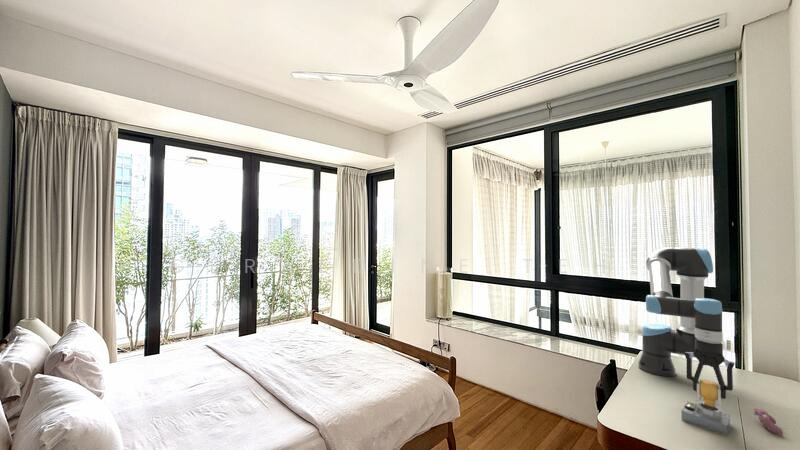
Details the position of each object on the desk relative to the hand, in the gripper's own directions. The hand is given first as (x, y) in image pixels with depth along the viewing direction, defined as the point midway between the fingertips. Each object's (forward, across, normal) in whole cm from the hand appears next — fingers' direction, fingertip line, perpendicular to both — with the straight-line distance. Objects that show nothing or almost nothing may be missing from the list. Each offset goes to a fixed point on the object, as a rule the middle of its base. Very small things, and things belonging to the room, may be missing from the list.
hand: (709, 403), depth 119 cm
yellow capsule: (+1, 0, 0) cm, 1 cm away
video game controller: (+8, +14, +15) cm, 21 cm away
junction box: (+8, -1, 0) cm, 8 cm away
